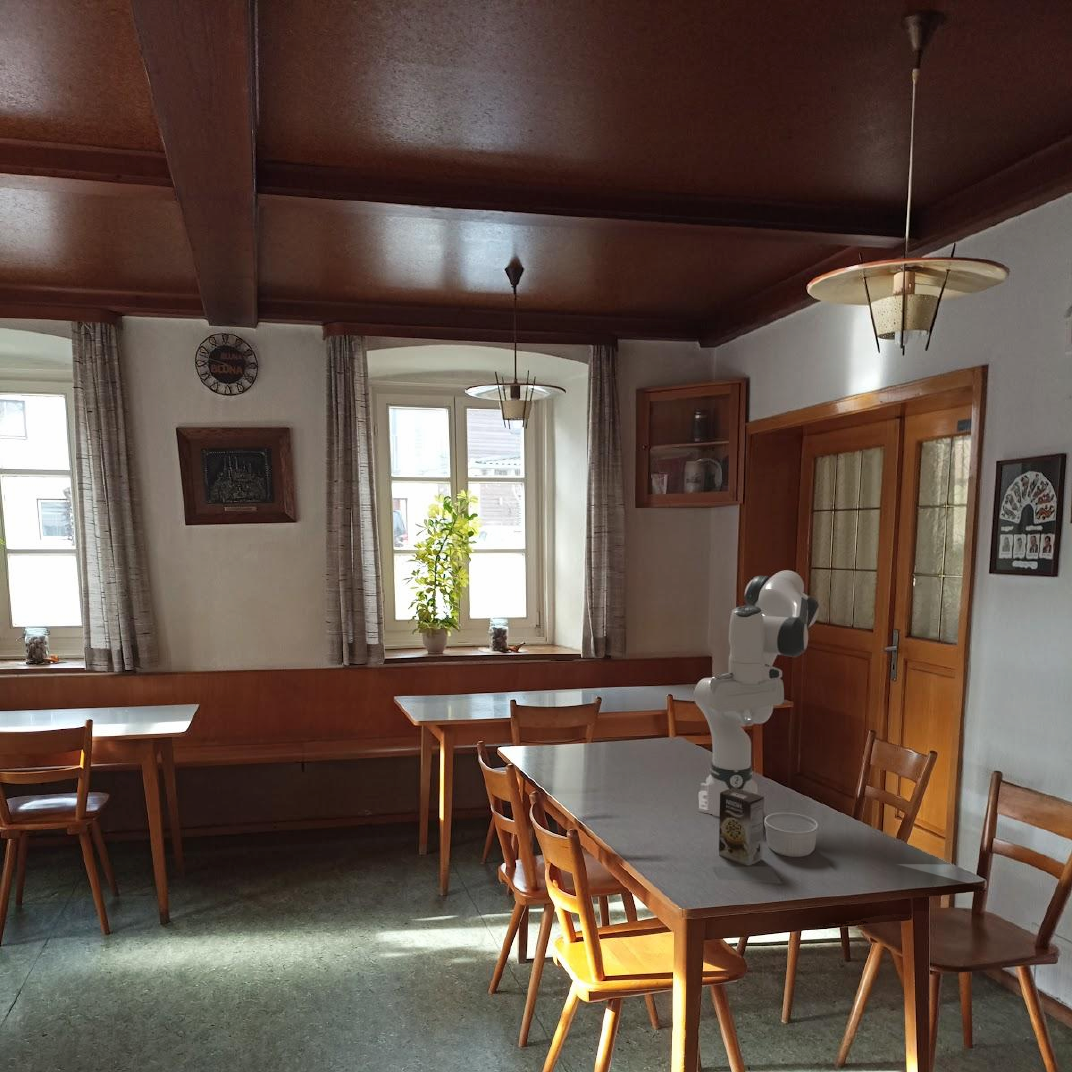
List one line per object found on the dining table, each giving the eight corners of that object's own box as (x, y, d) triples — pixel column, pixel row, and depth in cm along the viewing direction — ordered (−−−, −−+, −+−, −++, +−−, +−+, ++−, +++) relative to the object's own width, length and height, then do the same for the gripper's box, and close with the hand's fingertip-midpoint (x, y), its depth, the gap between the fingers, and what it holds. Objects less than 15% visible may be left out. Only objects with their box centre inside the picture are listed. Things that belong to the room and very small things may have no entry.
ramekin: (753, 848, 219) (754, 821, 219) (780, 833, 228) (780, 808, 228) (801, 864, 210) (802, 836, 209) (827, 848, 219) (827, 822, 218)
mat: (713, 868, 207) (713, 866, 207) (770, 868, 207) (770, 866, 207) (723, 888, 197) (723, 886, 197) (783, 887, 197) (783, 885, 197)
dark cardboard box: (717, 855, 215) (718, 792, 214) (732, 847, 219) (733, 786, 218) (748, 867, 208) (749, 802, 207) (763, 859, 212) (764, 795, 211)
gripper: (717, 678, 208) (717, 733, 209) (787, 670, 215) (787, 724, 216) (703, 672, 214) (703, 726, 215) (772, 665, 221) (772, 717, 222)
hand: (746, 725), depth 215 cm, fingers closed
